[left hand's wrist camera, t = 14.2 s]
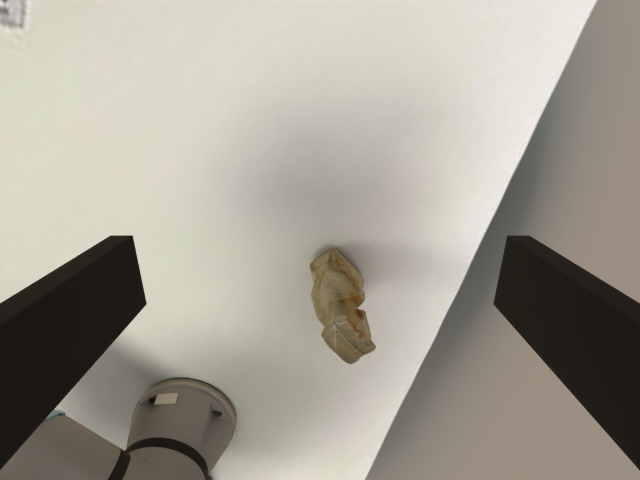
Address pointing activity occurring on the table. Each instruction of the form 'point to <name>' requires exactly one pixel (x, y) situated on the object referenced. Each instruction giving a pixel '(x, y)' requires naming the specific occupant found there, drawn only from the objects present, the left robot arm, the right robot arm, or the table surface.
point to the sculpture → (341, 306)
